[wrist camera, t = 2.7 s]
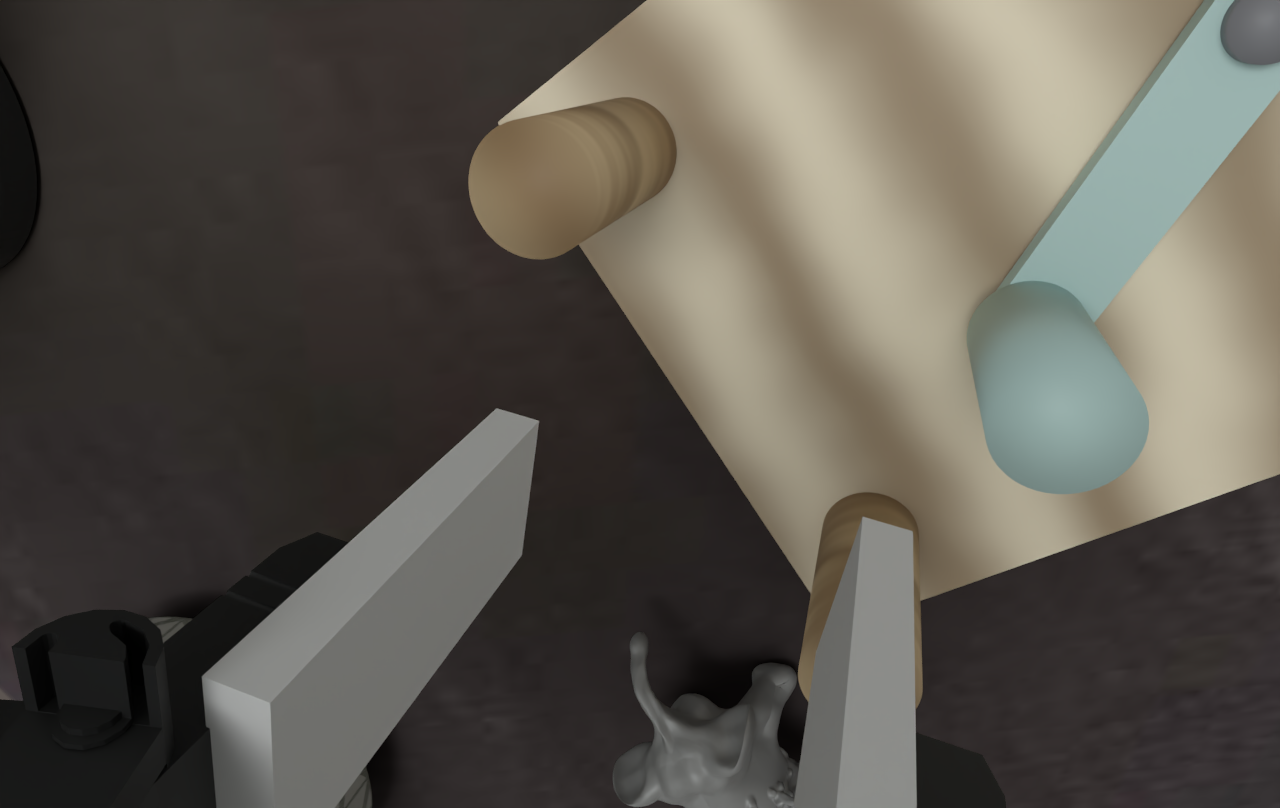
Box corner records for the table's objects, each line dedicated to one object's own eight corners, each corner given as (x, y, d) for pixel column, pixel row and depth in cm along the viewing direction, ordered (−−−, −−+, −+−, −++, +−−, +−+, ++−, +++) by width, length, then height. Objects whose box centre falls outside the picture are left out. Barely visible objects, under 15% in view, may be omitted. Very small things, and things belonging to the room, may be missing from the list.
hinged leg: (1037, 395, 28) (1083, 518, 21) (942, 344, 29) (955, 448, 21) (1341, 17, 22) (1549, 8, 15) (1217, -45, 22) (1364, -83, 15)
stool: (840, 588, 37) (815, 794, 27) (530, 115, 33) (363, 150, 23) (1539, 325, 26) (1933, 505, 16) (1215, -436, 22) (1479, -835, 12)
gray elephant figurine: (767, 798, 44) (751, 941, 37) (577, 673, 43) (527, 795, 37) (882, 701, 40) (888, 843, 33) (674, 560, 39) (636, 675, 32)
